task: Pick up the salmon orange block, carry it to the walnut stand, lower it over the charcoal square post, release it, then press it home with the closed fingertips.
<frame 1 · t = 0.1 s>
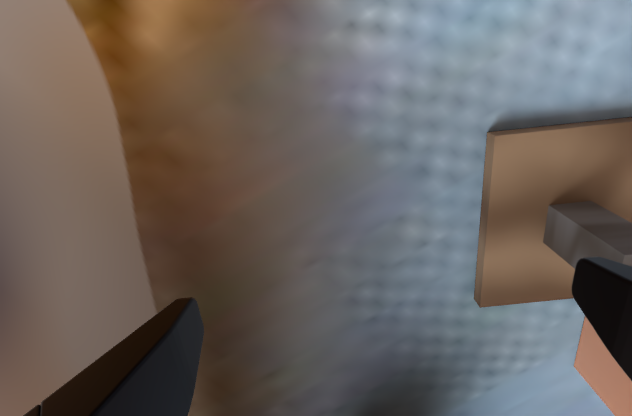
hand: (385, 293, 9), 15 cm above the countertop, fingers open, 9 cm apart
salmon orange block: (613, 337, 29), on the countertop
stand: (556, 215, 25), on the countertop
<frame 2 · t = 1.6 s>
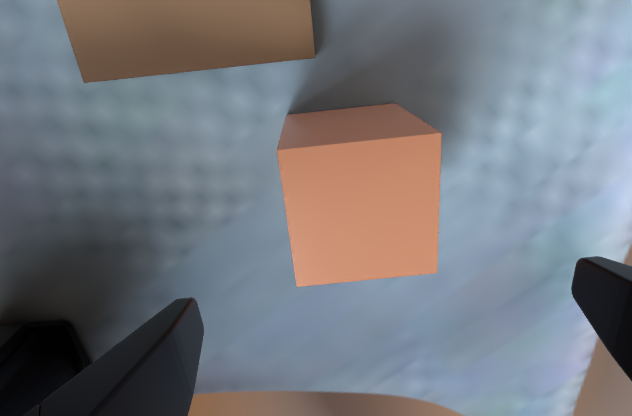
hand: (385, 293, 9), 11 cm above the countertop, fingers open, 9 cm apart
salmon orange block: (344, 161, 19), on the countertop
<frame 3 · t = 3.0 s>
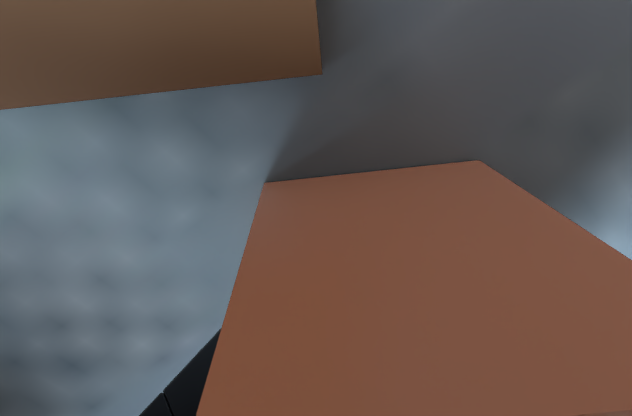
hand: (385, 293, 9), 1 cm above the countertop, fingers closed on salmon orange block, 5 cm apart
salmon orange block: (375, 263, 10), on the countertop, touching gripper
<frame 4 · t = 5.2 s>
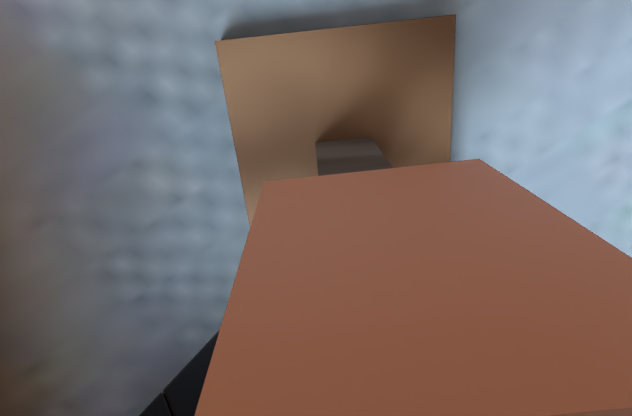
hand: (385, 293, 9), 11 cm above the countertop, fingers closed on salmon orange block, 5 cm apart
salmon orange block: (375, 262, 10), point 10 cm above the countertop, touching gripper
stand: (342, 160, 19), on the countertop
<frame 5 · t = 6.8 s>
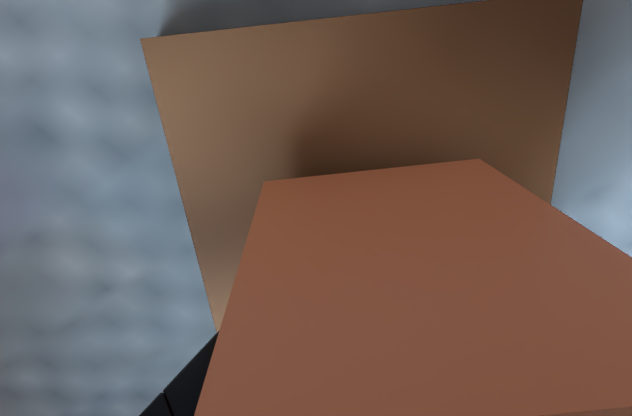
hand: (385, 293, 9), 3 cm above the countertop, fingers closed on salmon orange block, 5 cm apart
salmon orange block: (375, 262, 10), point 2 cm above the countertop, touching gripper
stand: (366, 231, 12), on the countertop
when the fingers open (3 cm above the countertop, at t = 7.7 s): salmon orange block stays where it is, resting on stand.
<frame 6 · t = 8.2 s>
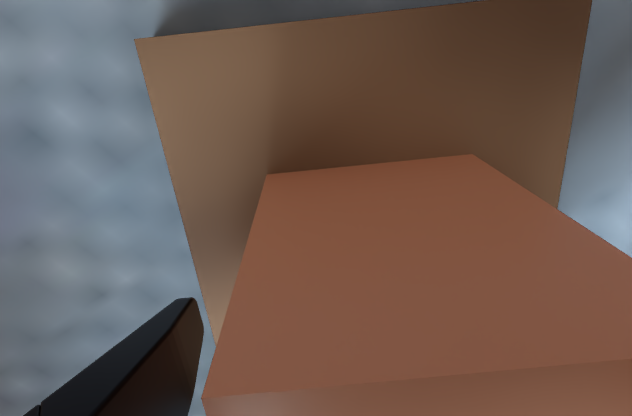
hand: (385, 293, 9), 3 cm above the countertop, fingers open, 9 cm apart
salmon orange block: (372, 253, 11), point 1 cm above the countertop, touching stand
stand: (367, 236, 11), on the countertop
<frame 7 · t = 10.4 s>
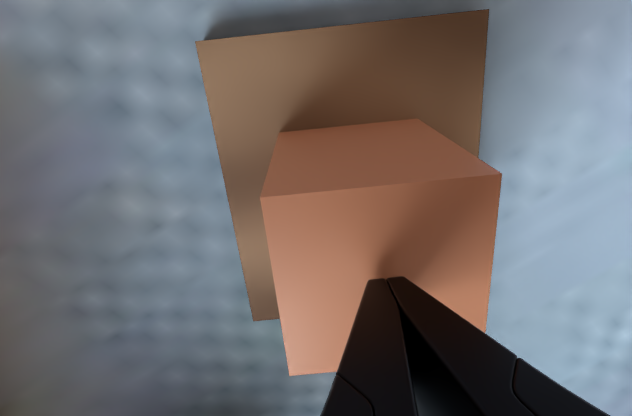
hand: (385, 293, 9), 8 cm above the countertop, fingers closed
salmon orange block: (352, 190, 15), point 1 cm above the countertop, touching stand
stand: (349, 182, 16), on the countertop
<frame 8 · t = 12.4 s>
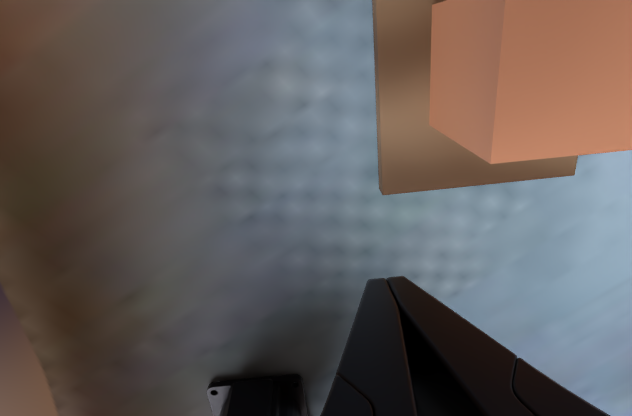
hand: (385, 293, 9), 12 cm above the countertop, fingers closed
salmon orange block: (487, 62, 17), point 1 cm above the countertop, touching stand
stand: (478, 61, 18), on the countertop
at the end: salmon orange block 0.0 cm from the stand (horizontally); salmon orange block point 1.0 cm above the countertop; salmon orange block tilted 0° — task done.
